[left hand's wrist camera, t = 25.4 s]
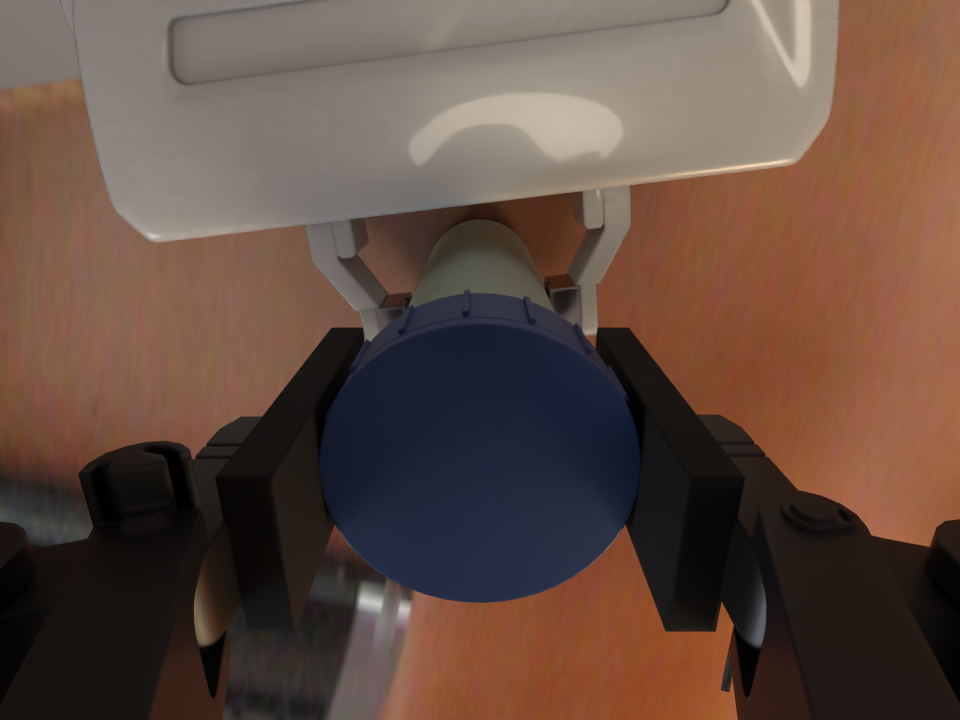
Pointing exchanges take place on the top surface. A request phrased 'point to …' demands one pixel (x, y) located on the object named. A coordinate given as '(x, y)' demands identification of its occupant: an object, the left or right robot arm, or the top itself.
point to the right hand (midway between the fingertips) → (484, 341)
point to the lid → (480, 450)
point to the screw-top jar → (480, 265)
